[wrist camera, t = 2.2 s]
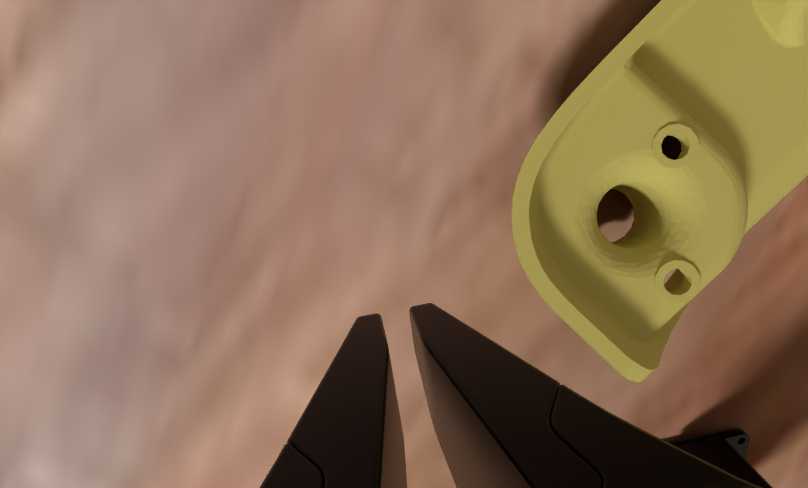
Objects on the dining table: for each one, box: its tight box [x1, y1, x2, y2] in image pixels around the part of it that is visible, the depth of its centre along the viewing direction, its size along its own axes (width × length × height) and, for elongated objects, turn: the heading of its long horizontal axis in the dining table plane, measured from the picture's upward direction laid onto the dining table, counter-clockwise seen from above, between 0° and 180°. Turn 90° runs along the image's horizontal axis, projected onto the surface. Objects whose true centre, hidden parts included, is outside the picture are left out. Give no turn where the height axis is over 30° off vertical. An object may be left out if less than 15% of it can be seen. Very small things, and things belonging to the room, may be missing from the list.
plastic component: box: [511, 0, 808, 383], centre depth 20 cm, size 20×7×10 cm
